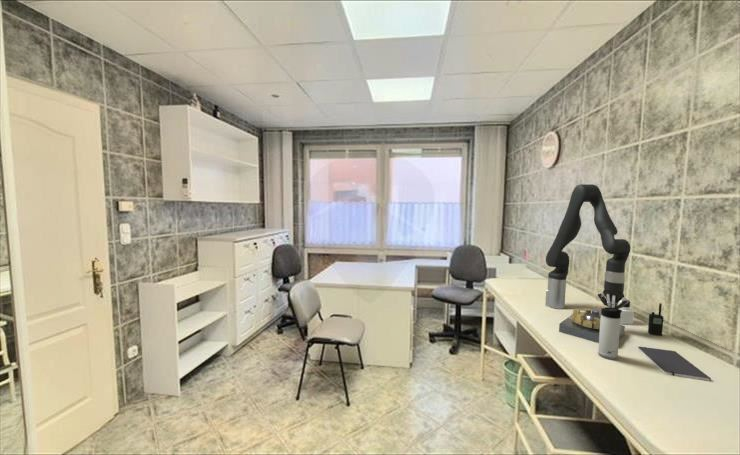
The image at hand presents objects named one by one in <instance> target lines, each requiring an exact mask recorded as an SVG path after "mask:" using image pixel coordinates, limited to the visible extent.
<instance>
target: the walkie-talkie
mask: <svg viewBox="0 0 740 455" xmlns="http://www.w3.org/2000/svg"><path fill="white" fill-rule="evenodd" d="M648 315H649V316H648V327H647V332H648V334H649V335H651V334H652V335H653V336H659V337H661V336H662V337H663V329H664V328H663V326H664V316H663V315H662V303H659V306H658V314H657V313H655V312H654V311H652V312H651V313H649V314H648Z"/></svg>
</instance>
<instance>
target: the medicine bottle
mask: <svg viewBox="0 0 740 455" xmlns="http://www.w3.org/2000/svg"><path fill="white" fill-rule="evenodd" d="M621 301H622V299H621V300H620V301H619V303H618V305H619V304H620V303H622V302H621ZM630 306H631V301H630V300H629V303H627V304H626V305H625V306H623V307H622V308H619V309H620V310H622V312H621V315H620V316H621V319H620V325H634V318H635V316H634V315H635V311H634V310H632V309H631V307H630Z"/></svg>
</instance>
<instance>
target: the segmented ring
mask: <svg viewBox="0 0 740 455" xmlns="http://www.w3.org/2000/svg"><path fill="white" fill-rule="evenodd" d="M602 308H605V306H598V305H597V306H596V307H595V308H594V309H590V308H584V311H581V310H579V309H577V308H574V309H573V310H572V314H571V315H572V320H573V322H575V323H577V324H579V325H582V326H585V327H589V328H593V329H600V318H594V321H589V320H585V315H584V313H593V314H597V315H600V316H601V309H602Z"/></svg>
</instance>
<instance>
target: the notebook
mask: <svg viewBox="0 0 740 455" xmlns="http://www.w3.org/2000/svg"><path fill="white" fill-rule="evenodd" d="M637 348H638V351H639V352H641V353H642V354H643V355H644V357H646V358H647V359H648V360H649V361H650V362H652V364H653V365H655V367H657V369H659V371H661V372H662V373H663V374H665V375H669V376H673V377H675V376H676V377H683V378H689V379H697V380H701V381H702V380H703V381H709V382H711V381H712V378H711V377H710V376H708V374H706V373H704V372H703V371H702V370H700V369H699V368H698V367H697V366H695V365H694V364H692V362H691V361H689V360H687V358H685V357H684V356H683V355H681V354H680V353H678V352H677V351H676V350H669V349H661V348H655V347H647V346H637Z"/></svg>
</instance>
